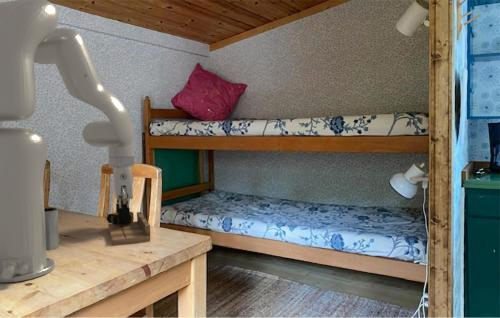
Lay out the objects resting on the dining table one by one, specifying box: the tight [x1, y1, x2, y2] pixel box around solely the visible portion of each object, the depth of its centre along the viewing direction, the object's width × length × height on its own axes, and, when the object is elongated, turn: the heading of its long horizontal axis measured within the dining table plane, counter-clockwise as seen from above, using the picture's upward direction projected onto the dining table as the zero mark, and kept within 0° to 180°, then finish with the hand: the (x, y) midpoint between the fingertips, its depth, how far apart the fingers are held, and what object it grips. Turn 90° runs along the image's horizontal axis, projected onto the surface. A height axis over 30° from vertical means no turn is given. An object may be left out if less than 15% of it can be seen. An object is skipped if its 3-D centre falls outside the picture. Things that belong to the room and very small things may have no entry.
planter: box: [44, 207, 60, 251], centre depth 99 cm, size 4×4×10 cm
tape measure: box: [106, 211, 134, 226], centre depth 116 cm, size 7×7×4 cm
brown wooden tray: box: [107, 211, 151, 246], centre depth 111 cm, size 19×10×4 cm, turn 24°
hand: (122, 217), depth 117 cm, fingers closed on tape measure, 7 cm apart
